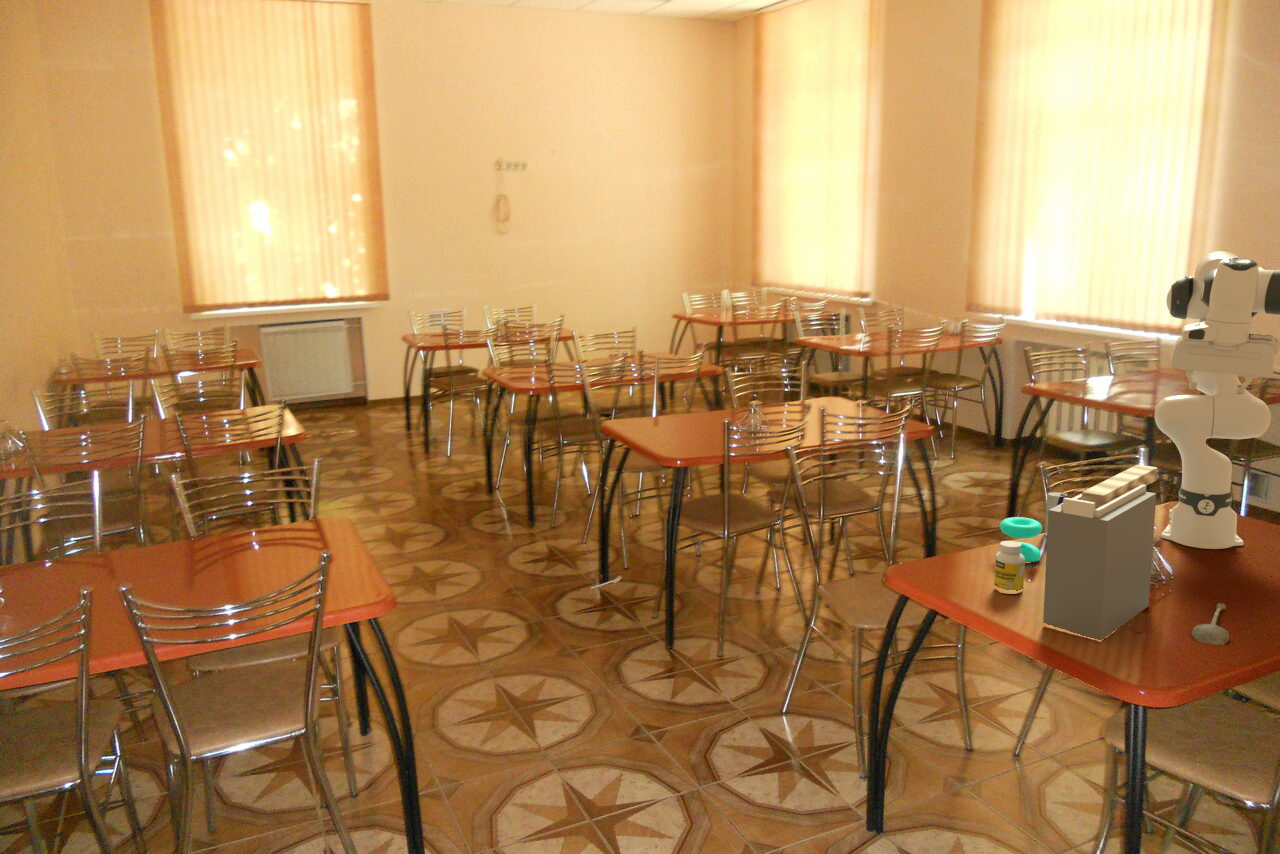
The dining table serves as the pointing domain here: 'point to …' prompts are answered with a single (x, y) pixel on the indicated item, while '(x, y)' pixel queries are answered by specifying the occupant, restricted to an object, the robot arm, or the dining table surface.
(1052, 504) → the energy drink
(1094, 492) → the wooden bar
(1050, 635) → the dining table surface
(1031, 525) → the donuts
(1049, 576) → the gray open box
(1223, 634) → the soupspoon
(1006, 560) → the pill bottle
